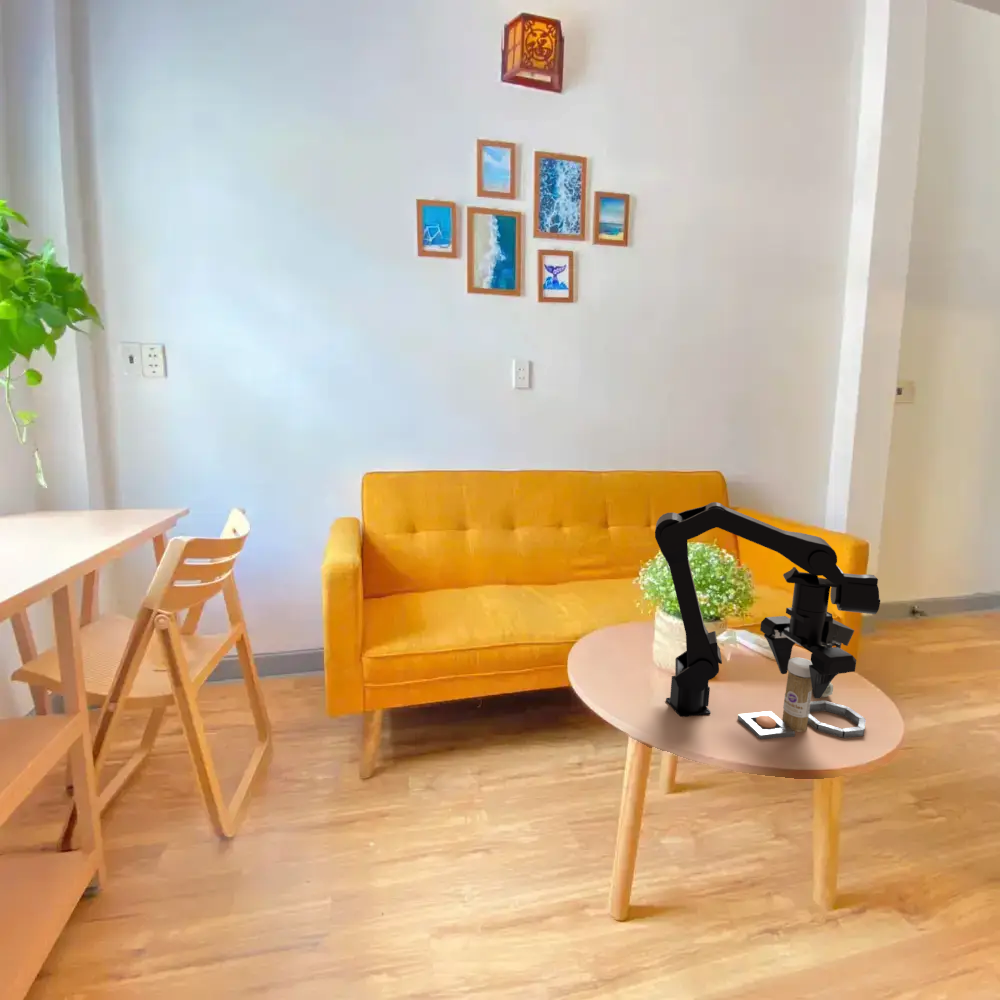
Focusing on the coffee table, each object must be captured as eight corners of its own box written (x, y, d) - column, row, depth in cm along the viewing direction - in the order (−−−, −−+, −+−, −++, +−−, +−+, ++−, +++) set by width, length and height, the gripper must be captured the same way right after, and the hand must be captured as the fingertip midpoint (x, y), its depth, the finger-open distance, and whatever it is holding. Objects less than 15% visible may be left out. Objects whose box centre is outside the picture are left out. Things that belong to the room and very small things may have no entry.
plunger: (762, 737, 110) (763, 726, 110) (751, 727, 114) (752, 716, 113) (778, 735, 111) (780, 724, 110) (767, 725, 114) (768, 714, 114)
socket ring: (828, 743, 109) (829, 733, 109) (790, 712, 119) (791, 703, 119) (877, 737, 111) (878, 727, 111) (836, 707, 121) (837, 698, 121)
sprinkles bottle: (777, 728, 113) (785, 662, 111) (785, 718, 117) (792, 654, 114) (803, 737, 110) (812, 670, 108) (810, 727, 114) (819, 661, 111)
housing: (759, 745, 108) (760, 735, 108) (737, 723, 115) (738, 714, 115) (793, 741, 110) (795, 731, 109) (769, 720, 116) (770, 710, 116)
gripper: (889, 624, 101) (876, 708, 104) (812, 586, 119) (803, 659, 122) (832, 628, 99) (820, 714, 102) (762, 589, 117) (754, 663, 120)
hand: (799, 685), depth 112 cm, fingers open, 9 cm apart
